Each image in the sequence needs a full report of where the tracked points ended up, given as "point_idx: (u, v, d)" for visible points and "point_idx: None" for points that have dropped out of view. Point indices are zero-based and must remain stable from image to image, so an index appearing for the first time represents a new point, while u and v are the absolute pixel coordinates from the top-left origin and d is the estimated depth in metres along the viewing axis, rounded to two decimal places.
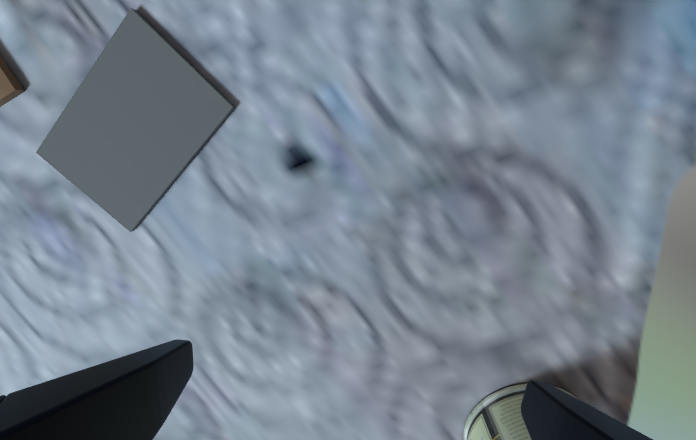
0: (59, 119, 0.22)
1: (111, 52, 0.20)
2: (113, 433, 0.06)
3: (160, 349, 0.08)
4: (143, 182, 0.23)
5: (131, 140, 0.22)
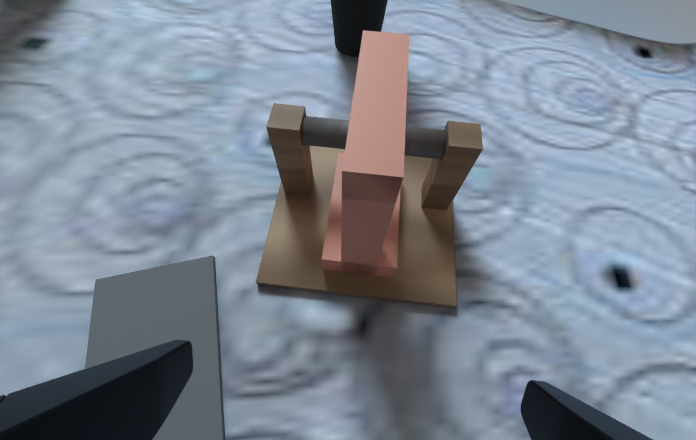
0: (214, 297, 0.22)
1: (212, 394, 0.20)
2: (113, 433, 0.06)
3: (160, 348, 0.08)
4: (112, 328, 0.21)
5: (146, 348, 0.21)
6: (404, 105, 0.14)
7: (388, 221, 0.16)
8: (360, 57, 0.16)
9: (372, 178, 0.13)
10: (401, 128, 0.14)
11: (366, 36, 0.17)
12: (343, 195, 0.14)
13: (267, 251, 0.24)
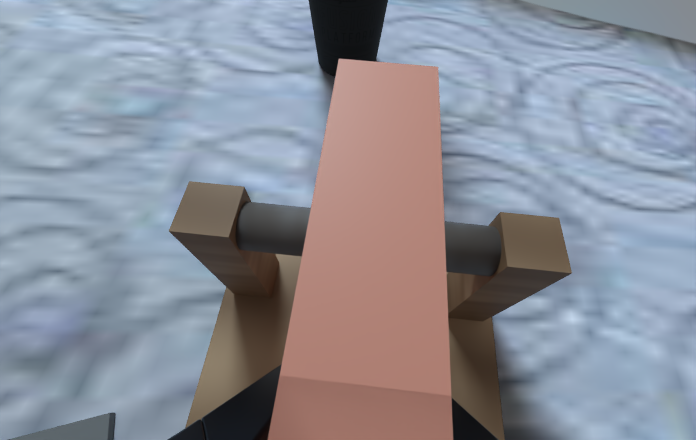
0: None
1: None
2: None
3: None
4: None
5: None
6: (441, 267, 0.05)
7: None
8: (330, 123, 0.07)
9: None
10: (438, 355, 0.05)
11: (345, 71, 0.08)
12: None
13: (198, 405, 0.15)
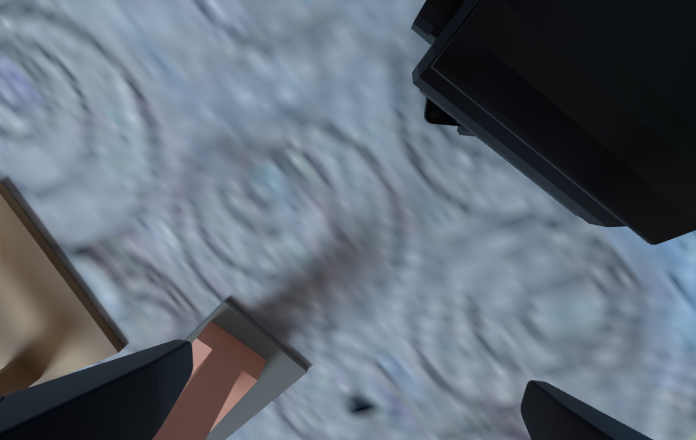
0: None
1: None
2: (113, 433, 0.06)
3: (160, 348, 0.08)
4: (223, 419, 0.26)
5: None
6: None
7: None
8: None
9: None
10: None
11: None
12: None
13: (91, 359, 0.25)
